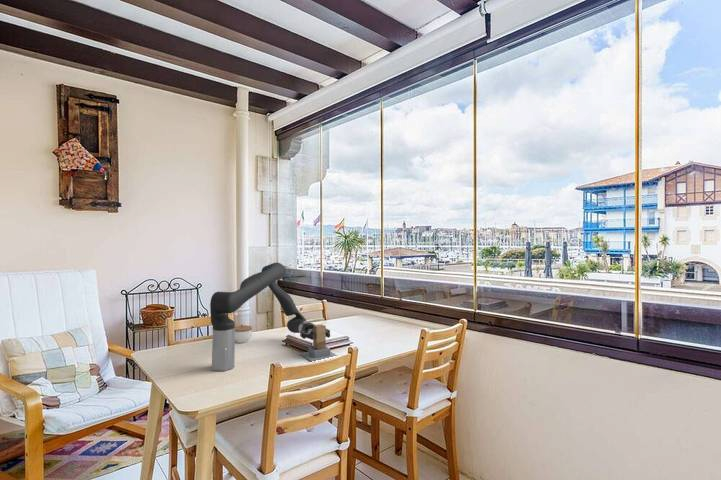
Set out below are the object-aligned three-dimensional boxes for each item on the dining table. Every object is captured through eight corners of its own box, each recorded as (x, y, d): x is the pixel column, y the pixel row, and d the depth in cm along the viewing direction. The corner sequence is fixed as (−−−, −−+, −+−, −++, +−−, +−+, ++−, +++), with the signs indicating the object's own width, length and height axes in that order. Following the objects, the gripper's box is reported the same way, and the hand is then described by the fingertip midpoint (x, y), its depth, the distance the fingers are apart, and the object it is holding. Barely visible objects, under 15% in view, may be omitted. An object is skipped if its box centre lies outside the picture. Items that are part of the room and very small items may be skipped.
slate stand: (338, 358, 186) (338, 349, 186) (311, 362, 179) (311, 353, 179) (326, 350, 198) (326, 342, 198) (300, 354, 191) (300, 346, 191)
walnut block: (325, 355, 188) (325, 326, 188) (316, 356, 186) (317, 327, 186) (321, 352, 192) (321, 324, 192) (313, 354, 190) (313, 325, 190)
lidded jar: (255, 339, 218) (255, 323, 218) (245, 345, 208) (245, 327, 208) (238, 338, 221) (239, 321, 221) (227, 343, 211) (227, 326, 211)
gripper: (295, 323, 198) (307, 330, 184) (320, 320, 205) (334, 327, 191) (294, 338, 198) (307, 346, 184) (320, 335, 205) (334, 342, 191)
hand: (321, 336), depth 187 cm, fingers open, 8 cm apart
